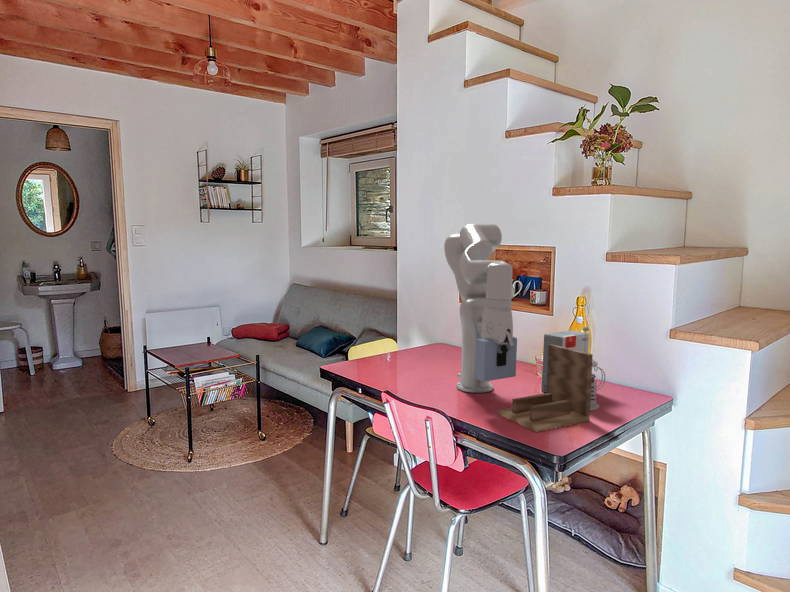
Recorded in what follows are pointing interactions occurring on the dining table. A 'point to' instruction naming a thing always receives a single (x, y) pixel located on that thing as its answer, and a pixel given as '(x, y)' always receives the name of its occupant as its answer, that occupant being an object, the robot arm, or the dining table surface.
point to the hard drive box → (562, 339)
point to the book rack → (557, 393)
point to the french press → (594, 364)
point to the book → (494, 361)
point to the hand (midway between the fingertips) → (496, 363)
